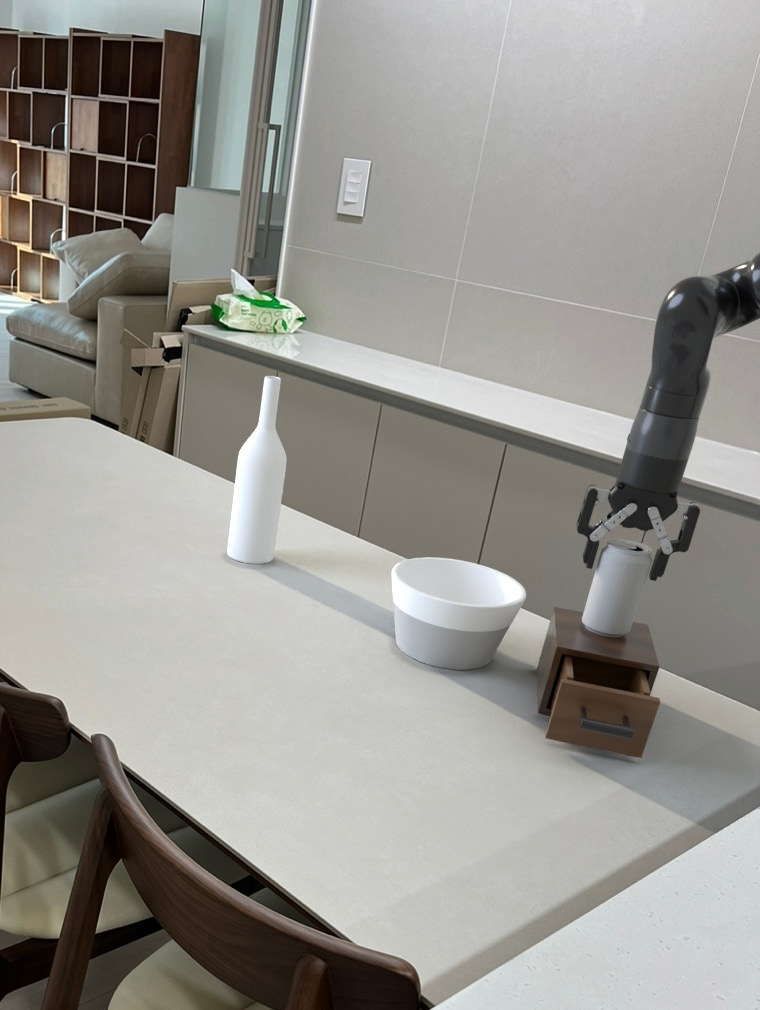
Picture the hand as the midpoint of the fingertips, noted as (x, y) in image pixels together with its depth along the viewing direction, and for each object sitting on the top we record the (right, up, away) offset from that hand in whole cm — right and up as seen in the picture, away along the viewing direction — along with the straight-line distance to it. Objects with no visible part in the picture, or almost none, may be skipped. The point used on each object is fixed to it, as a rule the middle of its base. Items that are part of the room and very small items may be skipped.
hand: (620, 572), depth 139 cm
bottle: (-47, +9, +44) cm, 65 cm away
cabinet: (-2, -17, +7) cm, 18 cm away
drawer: (-5, -21, -4) cm, 22 cm away
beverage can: (-1, -7, +4) cm, 8 cm away
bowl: (-20, -9, +17) cm, 28 cm away
